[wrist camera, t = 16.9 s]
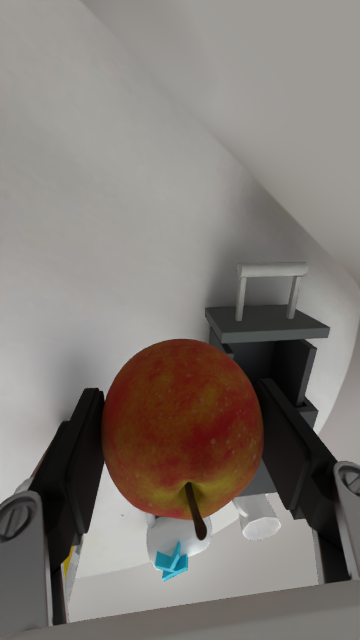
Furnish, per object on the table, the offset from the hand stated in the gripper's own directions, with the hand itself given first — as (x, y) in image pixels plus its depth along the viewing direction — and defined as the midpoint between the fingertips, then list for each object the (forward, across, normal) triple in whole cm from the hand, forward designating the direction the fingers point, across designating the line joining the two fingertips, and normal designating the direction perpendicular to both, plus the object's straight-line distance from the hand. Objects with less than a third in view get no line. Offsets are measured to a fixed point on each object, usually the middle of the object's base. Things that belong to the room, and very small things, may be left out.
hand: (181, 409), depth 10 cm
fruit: (+3, 0, 0) cm, 3 cm away
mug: (+19, -1, +45) cm, 49 cm away
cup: (+19, -14, +38) cm, 45 cm away
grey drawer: (+18, -11, +5) cm, 22 cm away
